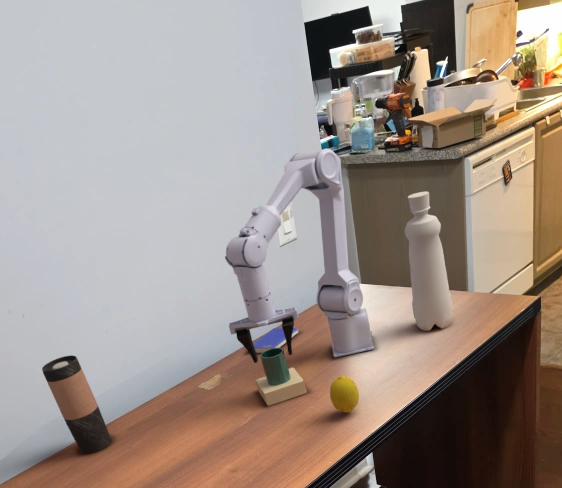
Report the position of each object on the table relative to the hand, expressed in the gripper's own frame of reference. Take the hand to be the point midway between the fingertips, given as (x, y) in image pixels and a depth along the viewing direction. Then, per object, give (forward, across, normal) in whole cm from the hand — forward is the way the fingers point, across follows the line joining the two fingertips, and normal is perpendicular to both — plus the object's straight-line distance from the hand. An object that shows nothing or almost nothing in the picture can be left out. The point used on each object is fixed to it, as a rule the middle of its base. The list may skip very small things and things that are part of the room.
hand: (273, 357), depth 140 cm
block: (+8, 0, 0) cm, 9 cm away
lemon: (+9, +13, -17) cm, 23 cm away
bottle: (+9, +37, +19) cm, 43 cm away
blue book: (+9, -3, +32) cm, 34 cm away
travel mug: (+8, -43, -7) cm, 44 cm away
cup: (+6, 0, 0) cm, 6 cm away
